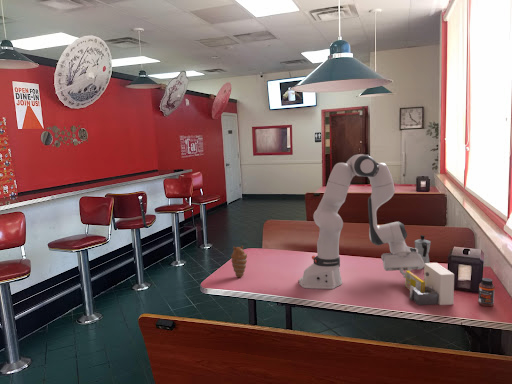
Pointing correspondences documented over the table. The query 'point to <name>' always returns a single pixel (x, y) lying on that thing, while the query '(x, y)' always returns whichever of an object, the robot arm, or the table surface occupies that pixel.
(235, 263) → the brown ridged elongated piece
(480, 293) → the supplement bottle
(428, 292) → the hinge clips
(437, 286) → the cabinet
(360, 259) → the table surface
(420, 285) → the candy box
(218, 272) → the table surface
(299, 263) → the table surface
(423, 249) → the coffee maker
